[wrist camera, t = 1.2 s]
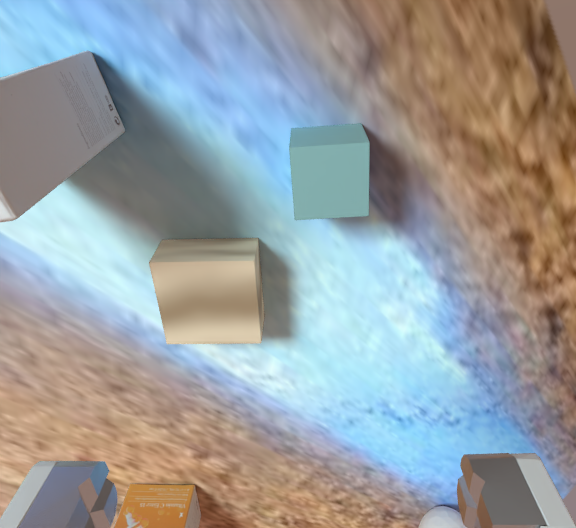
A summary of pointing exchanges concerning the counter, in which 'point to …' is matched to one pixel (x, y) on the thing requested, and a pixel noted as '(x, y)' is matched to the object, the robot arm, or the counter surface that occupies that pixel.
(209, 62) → the counter surface
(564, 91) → the counter surface
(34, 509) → the robot arm
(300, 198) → the teal cube
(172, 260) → the maple block
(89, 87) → the skincare box
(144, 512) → the small box
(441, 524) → the egg
